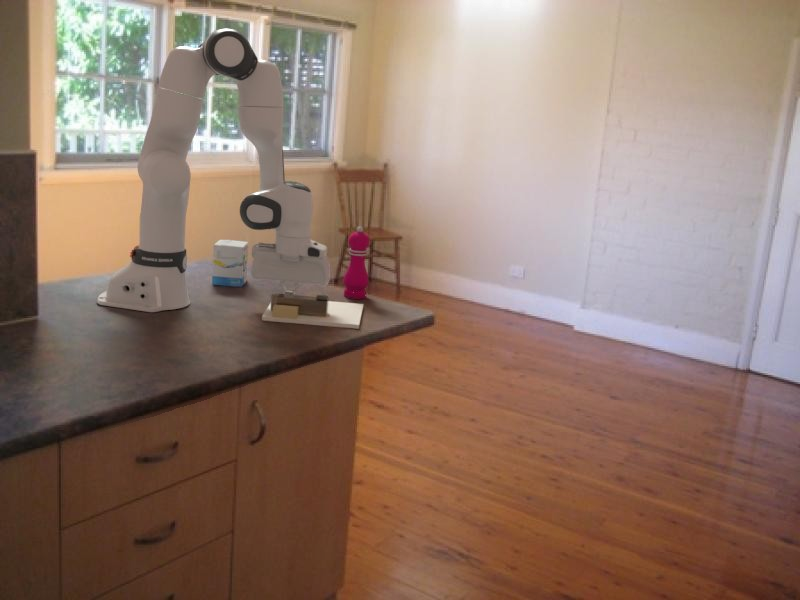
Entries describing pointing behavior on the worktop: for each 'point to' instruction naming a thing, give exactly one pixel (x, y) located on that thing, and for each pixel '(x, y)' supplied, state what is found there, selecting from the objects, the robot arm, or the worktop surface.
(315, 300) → the bar
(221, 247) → the ink box
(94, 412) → the worktop surface
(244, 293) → the worktop surface
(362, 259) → the pepper mill
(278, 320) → the latch board
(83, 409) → the worktop surface
